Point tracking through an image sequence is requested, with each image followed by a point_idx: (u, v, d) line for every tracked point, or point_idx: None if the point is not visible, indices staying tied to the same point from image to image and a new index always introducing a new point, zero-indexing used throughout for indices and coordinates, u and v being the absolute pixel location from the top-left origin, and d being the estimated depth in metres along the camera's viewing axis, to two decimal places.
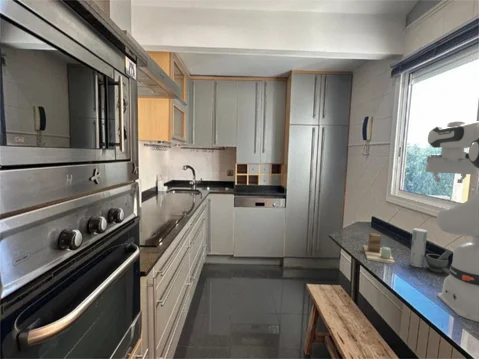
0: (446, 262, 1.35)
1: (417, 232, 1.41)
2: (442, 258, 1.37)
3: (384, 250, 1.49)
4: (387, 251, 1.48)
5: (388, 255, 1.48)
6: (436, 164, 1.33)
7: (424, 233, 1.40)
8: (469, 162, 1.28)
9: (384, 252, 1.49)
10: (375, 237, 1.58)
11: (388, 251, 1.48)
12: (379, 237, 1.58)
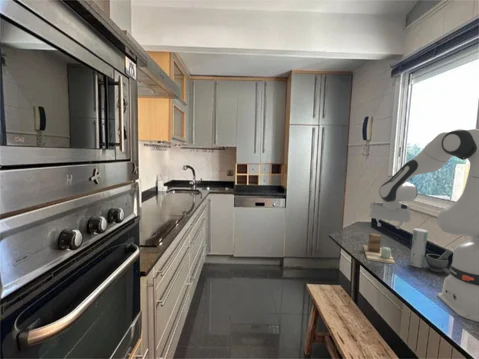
0: (446, 262, 1.35)
1: (417, 232, 1.41)
2: (442, 258, 1.37)
3: (384, 250, 1.49)
4: (387, 251, 1.48)
5: (388, 255, 1.48)
6: (377, 211, 1.49)
7: (424, 233, 1.40)
8: (404, 211, 1.44)
9: (384, 252, 1.49)
10: (375, 237, 1.58)
11: (388, 251, 1.48)
12: (379, 237, 1.58)
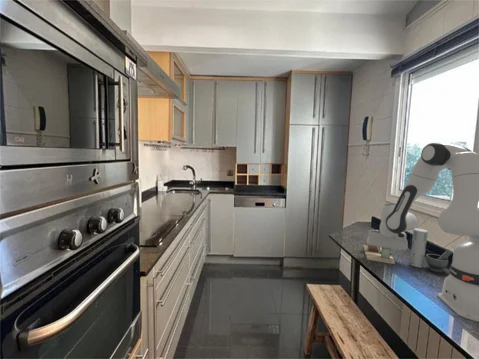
0: (446, 262, 1.35)
1: (417, 232, 1.41)
2: (442, 258, 1.37)
3: (384, 250, 1.49)
4: (387, 251, 1.48)
5: (388, 255, 1.48)
6: (375, 239, 1.50)
7: (424, 233, 1.40)
8: (401, 240, 1.45)
9: (384, 252, 1.49)
10: None
11: (388, 251, 1.48)
12: None
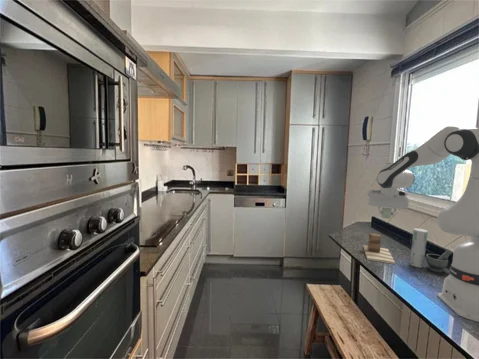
0: (446, 262, 1.35)
1: (417, 232, 1.41)
2: (442, 258, 1.37)
3: (385, 209, 1.49)
4: (388, 210, 1.48)
5: (389, 214, 1.49)
6: (375, 199, 1.50)
7: (424, 233, 1.40)
8: (402, 198, 1.45)
9: (385, 212, 1.49)
10: (375, 237, 1.58)
11: (389, 210, 1.48)
12: (379, 237, 1.58)
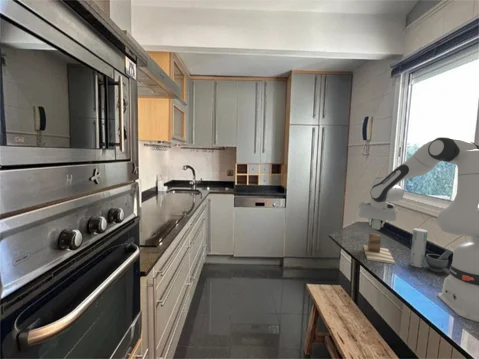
0: (446, 262, 1.35)
1: (417, 232, 1.41)
2: (442, 258, 1.37)
3: (374, 221, 1.58)
4: (377, 222, 1.58)
5: (378, 226, 1.58)
6: (366, 211, 1.60)
7: (424, 233, 1.40)
8: (390, 211, 1.55)
9: (375, 223, 1.58)
10: (375, 237, 1.58)
11: (378, 222, 1.58)
12: (379, 237, 1.58)
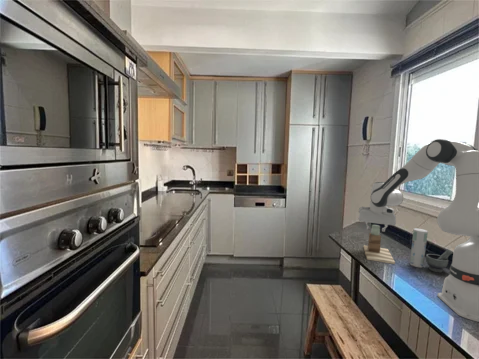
0: (446, 262, 1.35)
1: (417, 232, 1.41)
2: (442, 258, 1.37)
3: (374, 227, 1.59)
4: (376, 228, 1.58)
5: (377, 232, 1.58)
6: (365, 215, 1.60)
7: (424, 233, 1.40)
8: (390, 215, 1.55)
9: (374, 229, 1.59)
10: (375, 237, 1.58)
11: (377, 228, 1.58)
12: (379, 237, 1.58)
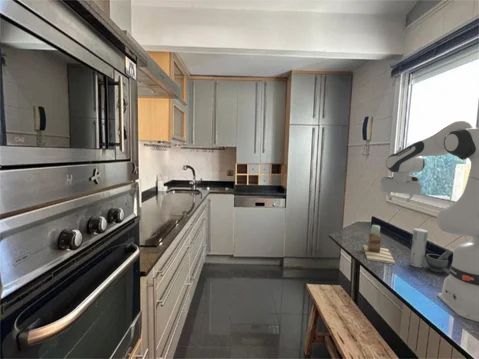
0: (446, 262, 1.35)
1: (418, 232, 1.41)
2: (442, 258, 1.37)
3: (374, 227, 1.59)
4: (376, 228, 1.58)
5: (377, 232, 1.58)
6: (388, 185, 1.53)
7: (425, 233, 1.40)
8: (415, 184, 1.48)
9: (374, 229, 1.59)
10: (375, 237, 1.58)
11: (377, 228, 1.58)
12: (379, 237, 1.58)
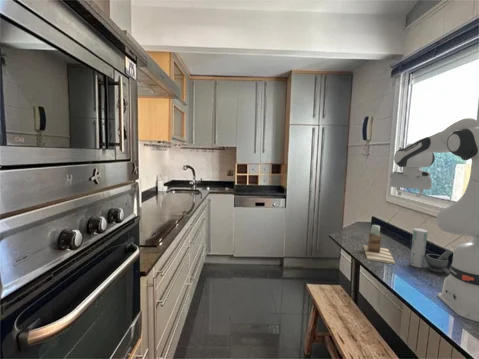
0: (446, 262, 1.35)
1: (417, 232, 1.41)
2: (442, 258, 1.37)
3: (374, 227, 1.59)
4: (376, 228, 1.58)
5: (377, 232, 1.58)
6: (398, 180, 1.51)
7: (424, 233, 1.40)
8: (425, 179, 1.46)
9: (374, 229, 1.59)
10: (375, 237, 1.58)
11: (377, 228, 1.58)
12: (379, 237, 1.58)
